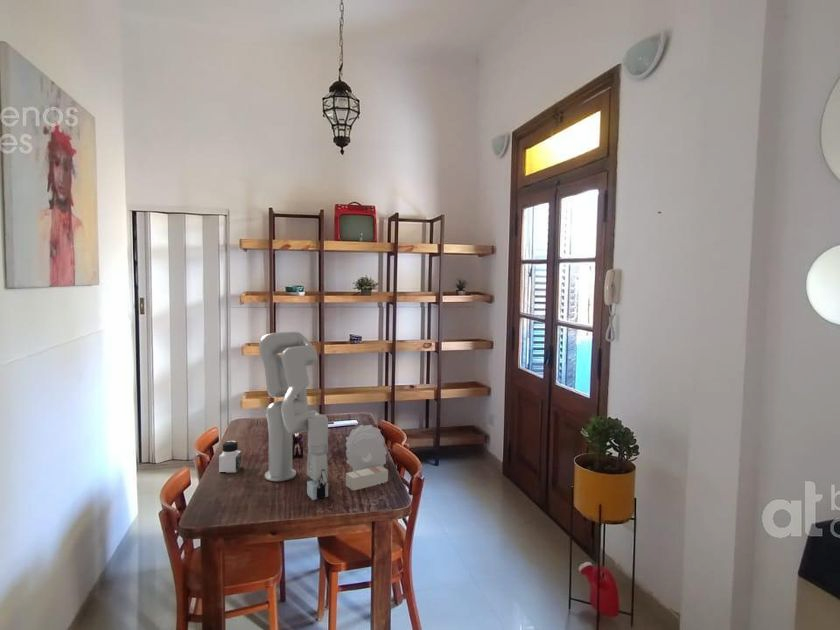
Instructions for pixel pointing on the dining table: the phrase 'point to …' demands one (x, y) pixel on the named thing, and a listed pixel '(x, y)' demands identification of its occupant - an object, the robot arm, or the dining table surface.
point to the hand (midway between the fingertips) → (317, 494)
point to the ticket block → (366, 477)
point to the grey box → (315, 489)
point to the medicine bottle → (230, 457)
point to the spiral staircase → (365, 448)
